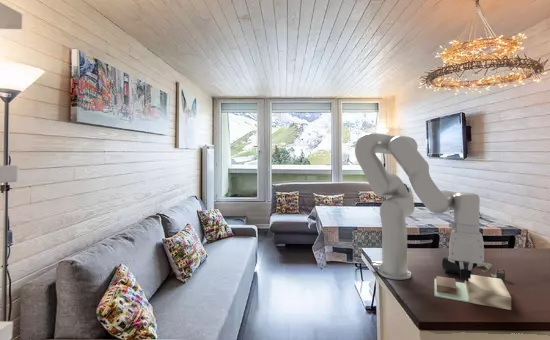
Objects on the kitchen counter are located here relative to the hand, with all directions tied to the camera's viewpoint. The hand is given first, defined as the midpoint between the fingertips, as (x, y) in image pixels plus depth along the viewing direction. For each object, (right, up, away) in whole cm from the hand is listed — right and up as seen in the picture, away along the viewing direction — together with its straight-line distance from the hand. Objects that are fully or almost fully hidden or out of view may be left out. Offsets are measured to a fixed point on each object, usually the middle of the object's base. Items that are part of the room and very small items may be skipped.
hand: (465, 279), depth 105 cm
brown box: (-5, -2, +3) cm, 6 cm away
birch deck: (+5, -5, -3) cm, 7 cm away
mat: (-4, -5, +2) cm, 6 cm away
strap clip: (+20, -4, +11) cm, 23 cm away
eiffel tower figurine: (+22, -4, +26) cm, 35 cm away
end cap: (+8, -4, +17) cm, 20 cm away
